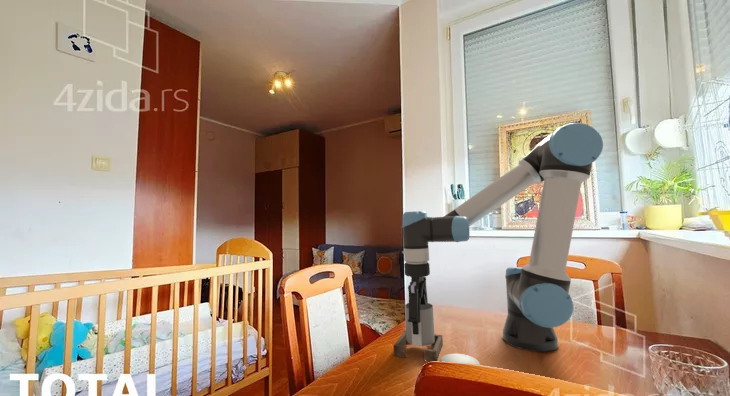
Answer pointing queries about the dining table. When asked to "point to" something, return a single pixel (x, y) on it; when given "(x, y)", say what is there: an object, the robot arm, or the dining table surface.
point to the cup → (422, 324)
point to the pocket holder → (428, 353)
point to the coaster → (459, 359)
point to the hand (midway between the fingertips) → (420, 338)
